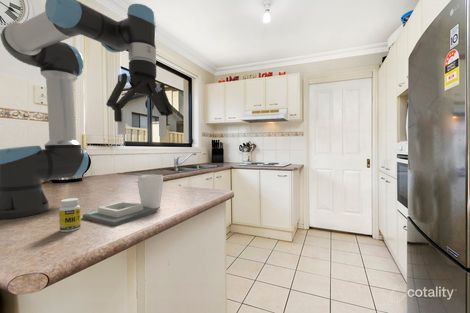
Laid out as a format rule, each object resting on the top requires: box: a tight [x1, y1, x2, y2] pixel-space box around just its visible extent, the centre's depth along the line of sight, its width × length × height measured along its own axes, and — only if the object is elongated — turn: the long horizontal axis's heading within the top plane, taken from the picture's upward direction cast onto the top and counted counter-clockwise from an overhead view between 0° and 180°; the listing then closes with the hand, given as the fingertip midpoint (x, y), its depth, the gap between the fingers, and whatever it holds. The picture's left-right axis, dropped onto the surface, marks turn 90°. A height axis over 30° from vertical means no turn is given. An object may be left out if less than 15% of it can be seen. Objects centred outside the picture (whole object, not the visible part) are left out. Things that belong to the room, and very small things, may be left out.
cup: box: [137, 174, 164, 209], centre depth 87 cm, size 9×9×12 cm
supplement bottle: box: [58, 197, 81, 233], centre depth 63 cm, size 5×5×8 cm
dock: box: [82, 200, 158, 227], centre depth 77 cm, size 16×16×3 cm
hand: (143, 135), depth 68 cm, fingers open, 13 cm apart
